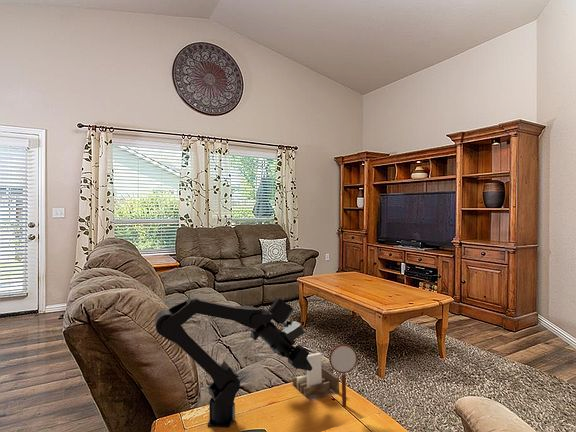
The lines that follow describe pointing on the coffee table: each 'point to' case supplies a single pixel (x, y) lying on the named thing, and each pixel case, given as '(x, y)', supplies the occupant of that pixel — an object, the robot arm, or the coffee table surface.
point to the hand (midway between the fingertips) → (304, 364)
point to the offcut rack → (318, 385)
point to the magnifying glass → (343, 364)
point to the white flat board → (314, 370)
